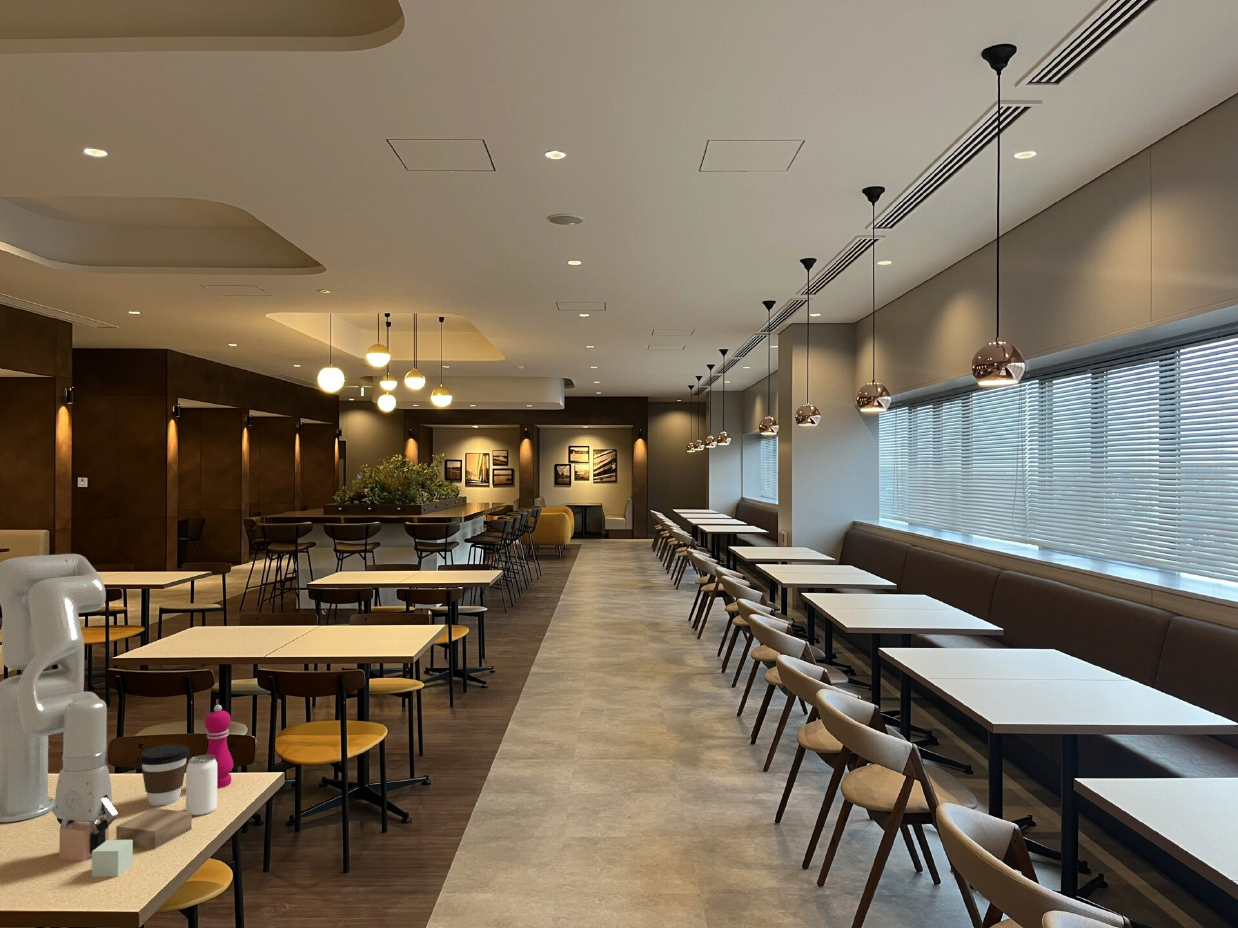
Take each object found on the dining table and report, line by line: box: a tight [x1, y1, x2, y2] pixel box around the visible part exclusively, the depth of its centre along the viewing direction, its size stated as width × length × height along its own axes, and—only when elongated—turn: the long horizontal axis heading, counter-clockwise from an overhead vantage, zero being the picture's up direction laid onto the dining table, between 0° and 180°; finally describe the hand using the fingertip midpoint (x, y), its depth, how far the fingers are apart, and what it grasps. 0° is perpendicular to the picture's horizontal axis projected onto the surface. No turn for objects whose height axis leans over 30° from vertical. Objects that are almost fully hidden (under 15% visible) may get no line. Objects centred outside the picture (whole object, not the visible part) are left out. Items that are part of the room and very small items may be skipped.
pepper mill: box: [204, 704, 234, 789], centre depth 208 cm, size 7×7×20 cm
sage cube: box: [91, 839, 134, 878], centre depth 162 cm, size 5×5×5 cm
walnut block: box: [115, 807, 193, 850], centre depth 178 cm, size 10×10×4 cm
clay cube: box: [58, 819, 110, 862], centre depth 170 cm, size 6×6×6 cm
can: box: [185, 754, 218, 817], centre depth 191 cm, size 6×6×12 cm
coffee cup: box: [138, 743, 191, 807], centre depth 197 cm, size 11×11×12 cm
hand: (84, 848), depth 170 cm, fingers closed on clay cube, 6 cm apart
